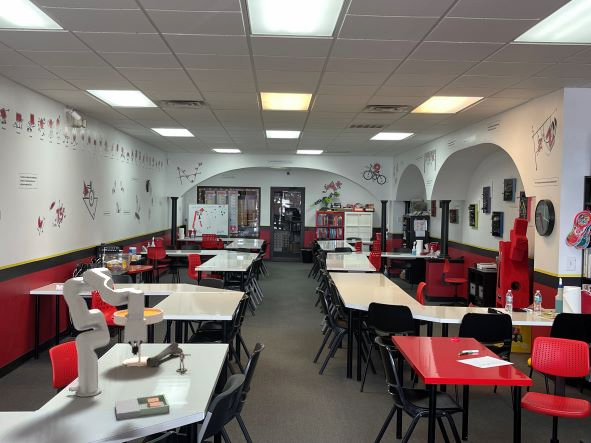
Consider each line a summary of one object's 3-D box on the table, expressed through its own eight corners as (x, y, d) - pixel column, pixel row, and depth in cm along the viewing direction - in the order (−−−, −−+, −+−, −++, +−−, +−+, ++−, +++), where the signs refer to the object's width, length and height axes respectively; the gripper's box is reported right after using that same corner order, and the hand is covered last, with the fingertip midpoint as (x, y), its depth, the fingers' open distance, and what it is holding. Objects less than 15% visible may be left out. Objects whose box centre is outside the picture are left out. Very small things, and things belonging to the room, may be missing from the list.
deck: (117, 419, 239) (117, 413, 239) (115, 406, 255) (115, 401, 255) (140, 416, 242) (140, 410, 242) (137, 403, 258) (137, 398, 258)
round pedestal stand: (173, 361, 332) (172, 311, 332) (128, 372, 312) (127, 318, 311) (149, 353, 354) (148, 306, 353) (106, 362, 333) (105, 312, 333)
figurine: (192, 369, 315) (192, 349, 315) (188, 372, 309) (188, 352, 309) (174, 368, 317) (174, 348, 317) (170, 372, 311) (170, 351, 310)
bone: (170, 354, 352) (170, 340, 352) (183, 355, 349) (183, 341, 349) (142, 367, 321) (142, 352, 321) (156, 369, 318) (156, 353, 318)
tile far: (159, 400, 253) (159, 406, 253) (158, 397, 258) (158, 402, 258) (148, 402, 252) (148, 407, 252) (147, 398, 257) (147, 403, 257)
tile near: (161, 405, 248) (161, 410, 248) (160, 401, 252) (160, 406, 252) (150, 406, 246) (150, 411, 246) (149, 402, 251) (149, 408, 251)
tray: (140, 416, 242) (140, 409, 242) (137, 403, 258) (137, 397, 258) (169, 411, 247) (169, 405, 247) (164, 400, 263) (164, 394, 263)
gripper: (119, 318, 250) (119, 357, 251) (152, 317, 255) (151, 355, 256) (119, 315, 257) (118, 353, 258) (151, 314, 262) (150, 351, 263)
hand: (135, 354), depth 257 cm, fingers closed
